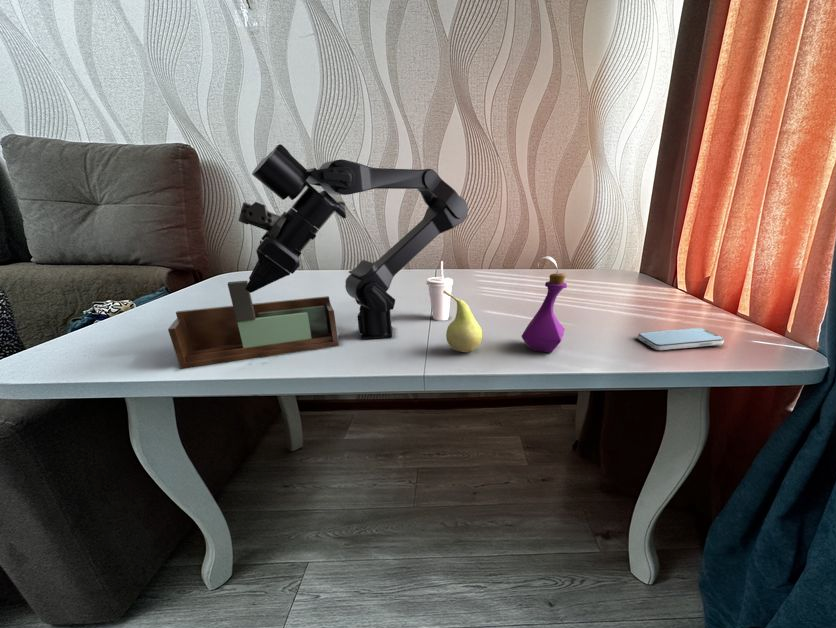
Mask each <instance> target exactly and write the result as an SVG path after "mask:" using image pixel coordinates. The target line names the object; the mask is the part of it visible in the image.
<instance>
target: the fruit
mask: <svg viewBox="0 0 836 628" xmlns="http://www.w3.org/2000/svg"><path fill="white" fill-rule="evenodd" d="M443 293H444V294H446V295H448V296H450V298H452V299H453V300H454V301H455V302H456V313H455V318H454V319H453V320H452V321H451V322H450V323H449V324H448V326H447V329H446V333H445V335H446V336H445V337H446V338H445V339H446V342H447V343H448V345H449V347H450V348H451V349H453V350H455V351H458V352H459V353H460V352H462V353H471V352H473V351H475V350H477V348H478V347H479V346H480V345H481V342H482V339H483V330H482V328H481V326H480V324H479V323H478V321H477V320H476V319H475V317H474V315H473V312H472V310H471V308H470V307H469V305H468V304H467V303H466V302H465V301H464V300H462V299H459V298H457V297H455V296H454V295H453V294H452V293H451V294H449V293H448V292H447V291H446V290H444V291H443Z"/></svg>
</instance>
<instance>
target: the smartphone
mask: <svg viewBox="0 0 836 628" xmlns="http://www.w3.org/2000/svg"><path fill="white" fill-rule="evenodd" d="M637 340H639V341H640V342H642V343H644V344H645V345H647V346H648V347H650V348H651V349H653V350H655V351H666V350H667V351H668V350H679V349H689V348H690V349H691V348H700V347H713V346H714V347H715V346H721V345H723V344H724V341H725V338H724V337H722V336H721V335H719V334H716V333H714V332H711V331H709V330H707V329H704V328H701V327H691V328H679V329H668V330H657V331H647V332H640V333H637Z"/></svg>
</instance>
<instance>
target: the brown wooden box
mask: <svg viewBox="0 0 836 628" xmlns="http://www.w3.org/2000/svg"><path fill="white" fill-rule="evenodd" d="M253 308H254V312H255V317H256V318H260V317H269V316H278V315H287V314H296V313H304V312H307V314H308V320H309V326H310V332H311V338H312V339H305V340H298V341H291V342H284V343H276V344H269V345H262V346H255V347H248V348H243V345H242V341H241V336H240V332H239V328H238V324H237V321H236V317H235V313H234V309H233V305H225V306H216V307H206V308H205V307H204V308H195V309H185V310H177V311H176V312H175V314H176V319H174V321H173V322H172V324H171V325H170V326H169V327H168V328H167V330H168V335H169V337H170V340H171V343H172V346H173V349H174V352H175V355H176V359H177V362H178V365H179V368H180V370H186V369H193V368H199V367H205V366H206V367H207V366H212V365H220V364H225V363H233V362H240V361H246V360H252V359H253V360H254V359H258V358H266V357H272V356H279V355H285V354H292V353H299V352H306V351H313V350H317V349H319V350H320V349H326V348H332V347H339V345H340V344H339V338H338V337H339V336H338V330H337V323H336V322H337V321H336V315H335V310H334V308H333V306H332V304H331V300H330V296H329V295H325V296H315V297H306V298H297V299H296V298H295V299H285V300H275V301H267V302H265V301H264V302H255V303H253Z"/></svg>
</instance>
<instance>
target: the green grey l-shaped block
mask: <svg viewBox="0 0 836 628" xmlns="http://www.w3.org/2000/svg"><path fill="white" fill-rule="evenodd" d="M248 282H249V280H238V281H228V282H227V288H228V291H229V296H230V300H231V304H232V305H231V306H233V309H234V313H235V317H236V321H237V324H238V328H239V332H240V336H241V341H242V345H243V348H248V347H255V346H262V345H269V344H276V343H284V342H291V341H298V340H305V339H312V338H311V332H310V326H309V320H308V314H307V312H304V313H296V314H287V315H278V316H269V317H260V318H256V317H255V312H254V308H253V304H254V303H253V298H252V294H251V293H250V292H248V291H247V290H246V289H245V288H246V286H247V284H248Z"/></svg>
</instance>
